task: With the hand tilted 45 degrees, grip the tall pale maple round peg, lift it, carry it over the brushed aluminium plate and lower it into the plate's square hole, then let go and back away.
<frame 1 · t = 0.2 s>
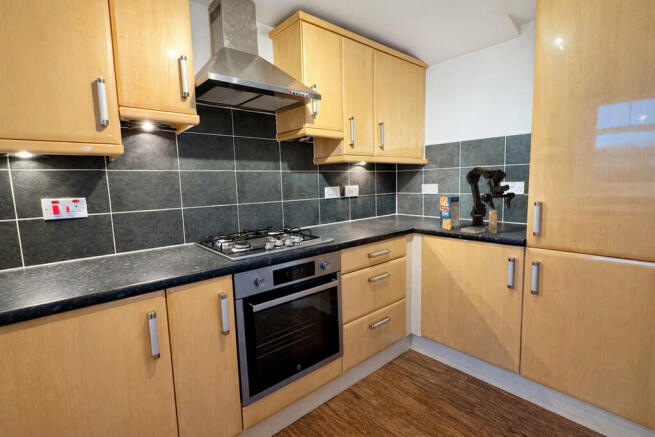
hand: (501, 208, 186), 15 cm above the worktop, tool tilted 35°, fingers open, 9 cm apart
maple peg: (492, 232, 187), on the worktop
hole plate: (472, 231, 193), on the worktop
blue yellow food box: (449, 228, 208), on the worktop
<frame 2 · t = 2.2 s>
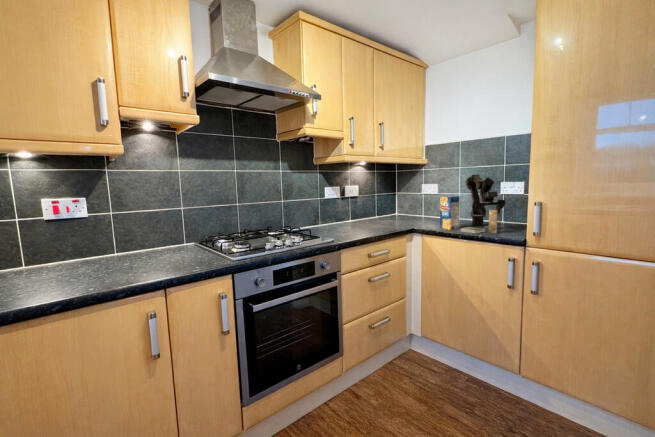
hand: (491, 214, 189), 11 cm above the worktop, tool tilted 45°, fingers open, 9 cm apart
nothing on the worktop moved.
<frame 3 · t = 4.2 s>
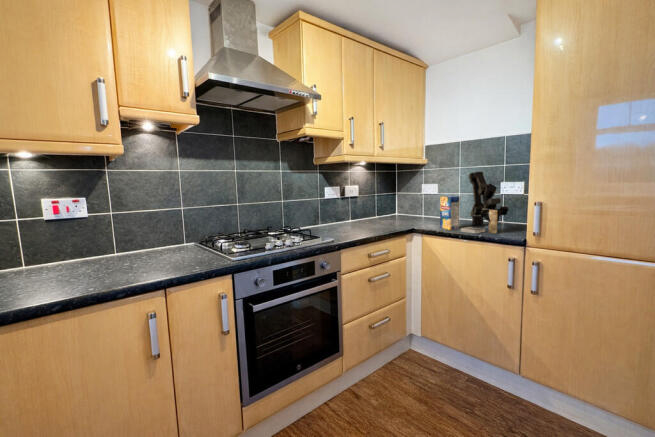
hand: (493, 221, 185), 7 cm above the worktop, tool tilted 45°, fingers closed on maple peg, 4 cm apart
maple peg: (492, 232, 187), on the worktop, touching gripper
everything else where it was.
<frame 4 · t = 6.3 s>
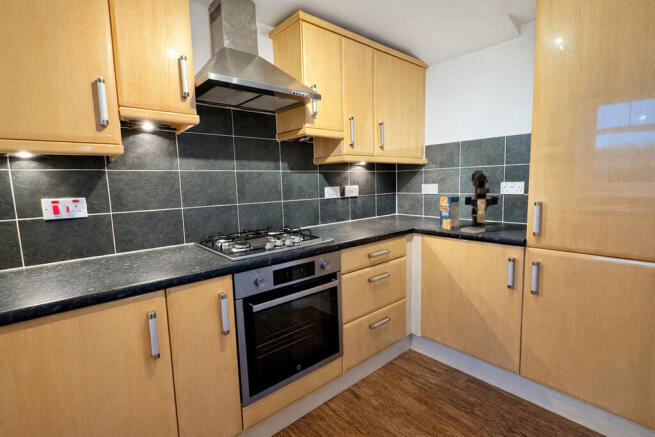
hand: (481, 211, 188), 13 cm above the worktop, tool tilted 45°, fingers closed on maple peg, 4 cm apart
maple peg: (481, 222, 190), point 6 cm above the worktop, touching gripper
everything else where it was.
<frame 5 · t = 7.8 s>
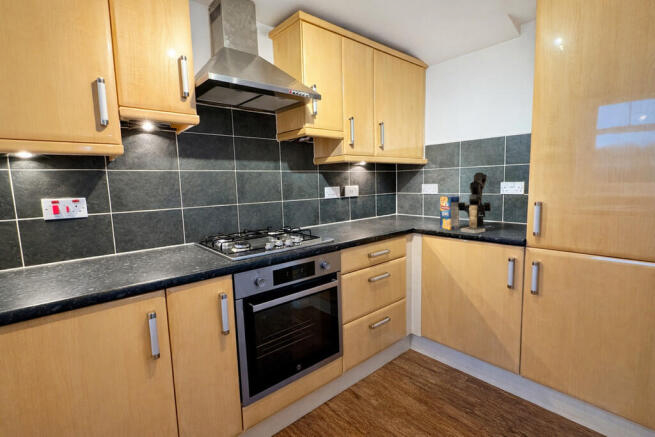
hand: (472, 216, 191), 10 cm above the worktop, tool tilted 45°, fingers closed on maple peg, 4 cm apart
maple peg: (472, 227, 193), point 2 cm above the worktop, touching gripper
everything else where it was.
when the fingers open (8 cm above the worktop, at t = 8.9 s): maple peg stays where it is, resting in hole plate.
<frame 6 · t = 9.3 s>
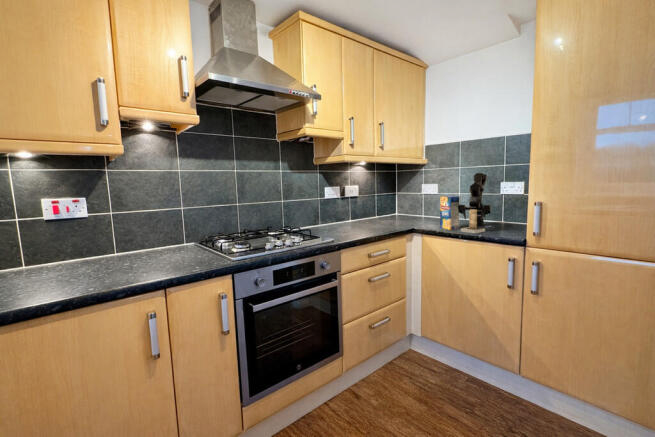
hand: (472, 219, 191), 8 cm above the worktop, tool tilted 45°, fingers open, 9 cm apart
maple peg: (472, 231, 193), resting in hole plate
everything else where it was.
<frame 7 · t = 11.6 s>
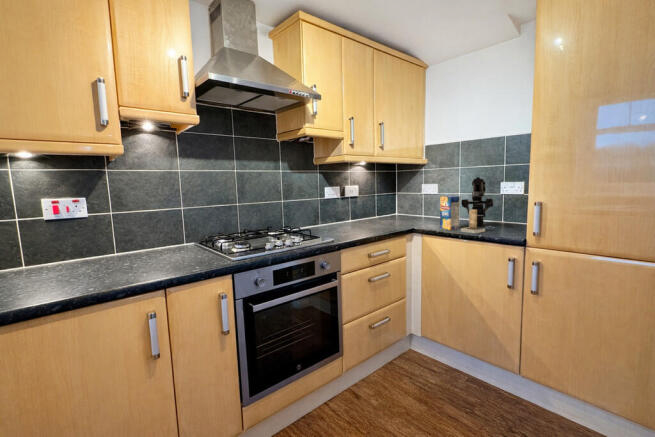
hand: (476, 213, 199), 11 cm above the worktop, tool tilted 40°, fingers open, 9 cm apart
nothing on the worktop moved.
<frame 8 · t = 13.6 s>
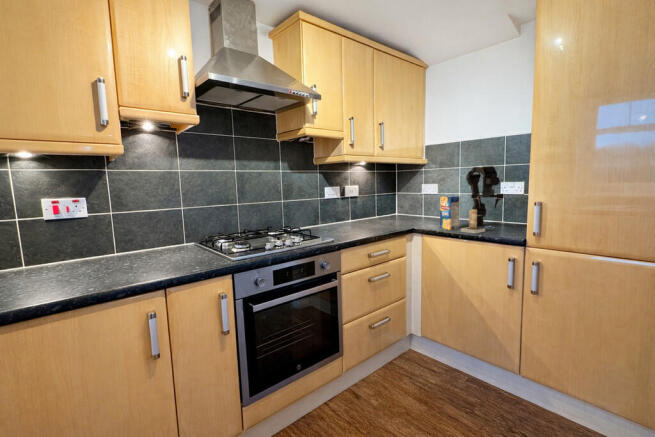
hand: (486, 209, 202), 13 cm above the worktop, tool pointing down, fingers open, 9 cm apart
nothing on the worktop moved.
at the end: maple peg 0.0 cm off-centre on the hole plate, point 0.0 cm above the hole plate's base; maple peg tilted 0°; the gripper is holding nothing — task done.
